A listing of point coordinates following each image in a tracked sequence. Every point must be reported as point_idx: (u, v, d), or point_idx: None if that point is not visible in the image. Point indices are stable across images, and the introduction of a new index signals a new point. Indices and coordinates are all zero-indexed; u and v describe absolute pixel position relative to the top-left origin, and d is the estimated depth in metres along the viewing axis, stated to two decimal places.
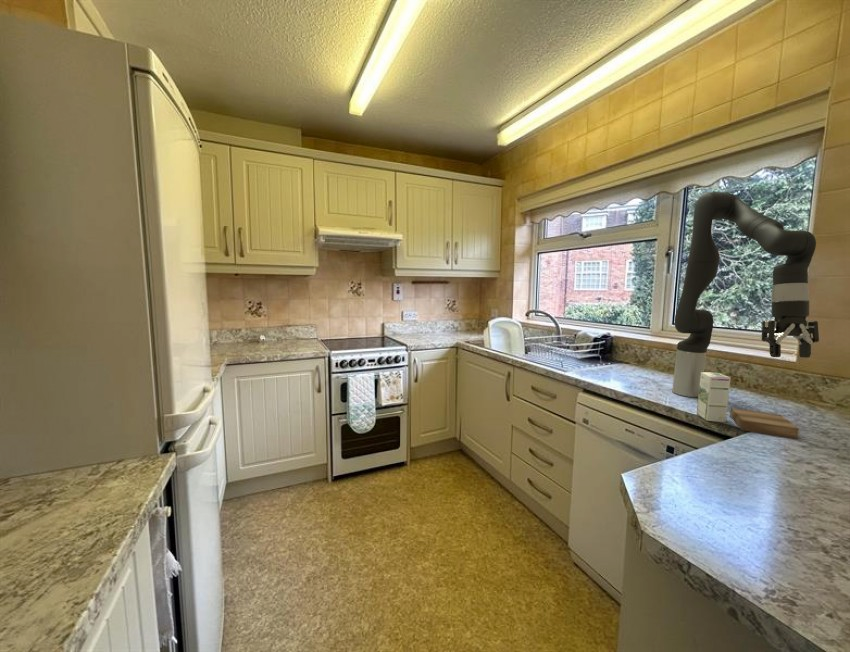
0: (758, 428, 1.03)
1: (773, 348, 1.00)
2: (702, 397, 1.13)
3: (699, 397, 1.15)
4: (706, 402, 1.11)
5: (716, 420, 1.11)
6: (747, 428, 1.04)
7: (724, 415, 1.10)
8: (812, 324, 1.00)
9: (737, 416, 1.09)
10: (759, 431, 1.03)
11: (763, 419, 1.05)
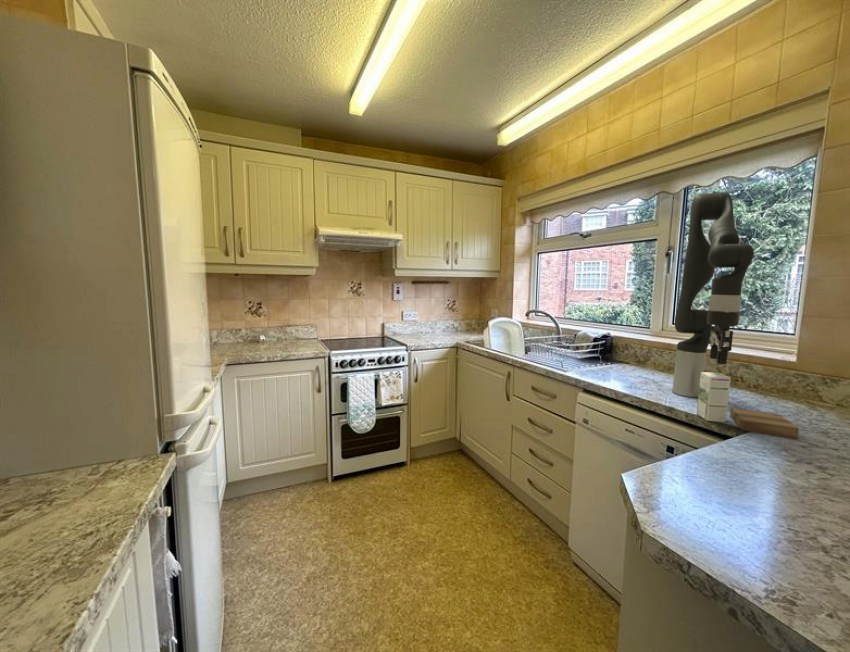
0: (758, 428, 1.03)
1: (725, 356, 1.06)
2: (702, 397, 1.13)
3: (699, 397, 1.15)
4: (706, 402, 1.11)
5: (716, 420, 1.11)
6: (747, 428, 1.04)
7: (724, 415, 1.10)
8: None
9: (737, 416, 1.09)
10: (759, 431, 1.03)
11: (763, 419, 1.05)
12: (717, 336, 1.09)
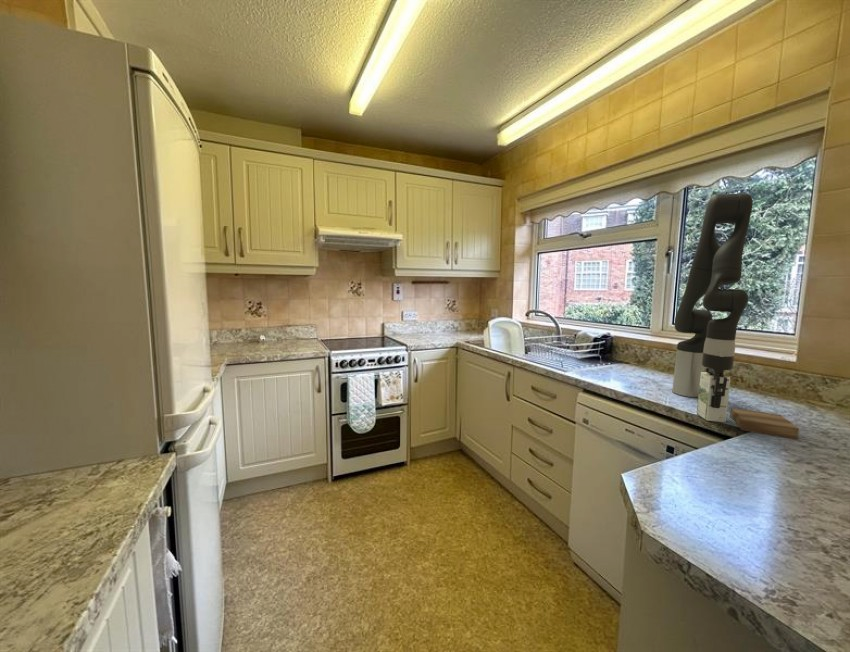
0: (758, 428, 1.03)
1: (718, 401, 1.08)
2: (702, 397, 1.13)
3: (699, 397, 1.15)
4: (706, 402, 1.11)
5: (716, 420, 1.11)
6: (747, 428, 1.04)
7: (724, 414, 1.10)
8: None
9: (737, 416, 1.09)
10: (759, 431, 1.03)
11: (763, 419, 1.05)
12: None
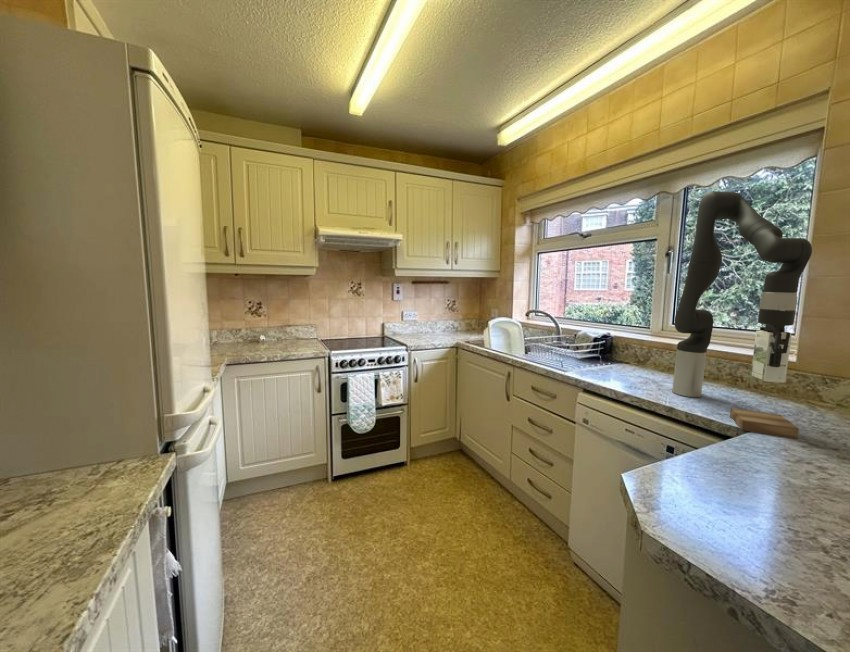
0: (758, 428, 1.03)
1: (779, 359, 1.00)
2: (758, 357, 1.05)
3: (754, 357, 1.07)
4: (764, 361, 1.03)
5: (775, 380, 1.03)
6: (747, 428, 1.04)
7: (784, 374, 1.02)
8: None
9: (737, 416, 1.09)
10: (759, 431, 1.03)
11: (763, 419, 1.05)
12: None
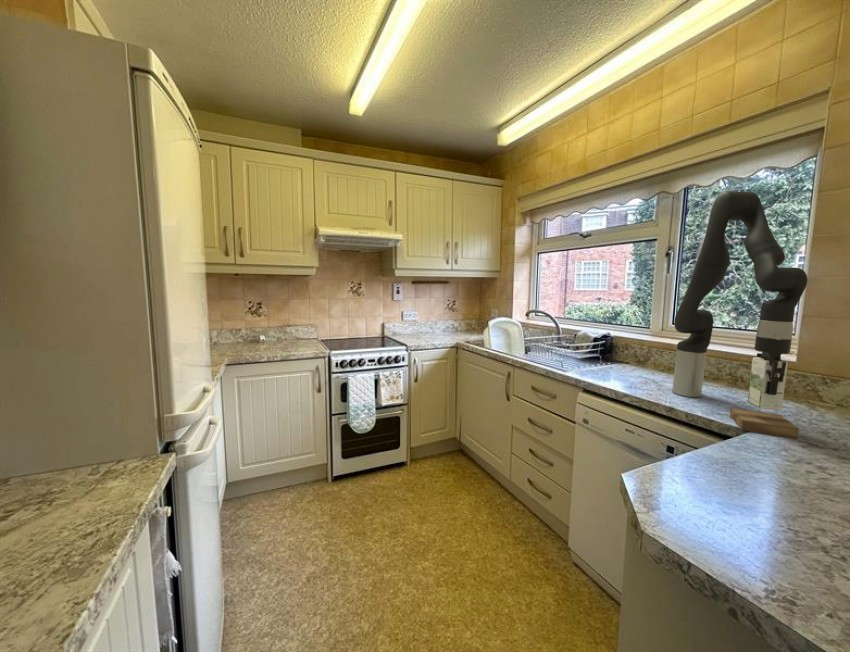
0: (758, 428, 1.03)
1: (775, 387, 1.01)
2: (755, 383, 1.06)
3: (751, 384, 1.08)
4: (760, 389, 1.04)
5: (771, 408, 1.04)
6: (747, 428, 1.04)
7: (780, 402, 1.03)
8: None
9: (737, 416, 1.09)
10: (759, 431, 1.03)
11: (763, 419, 1.05)
12: None
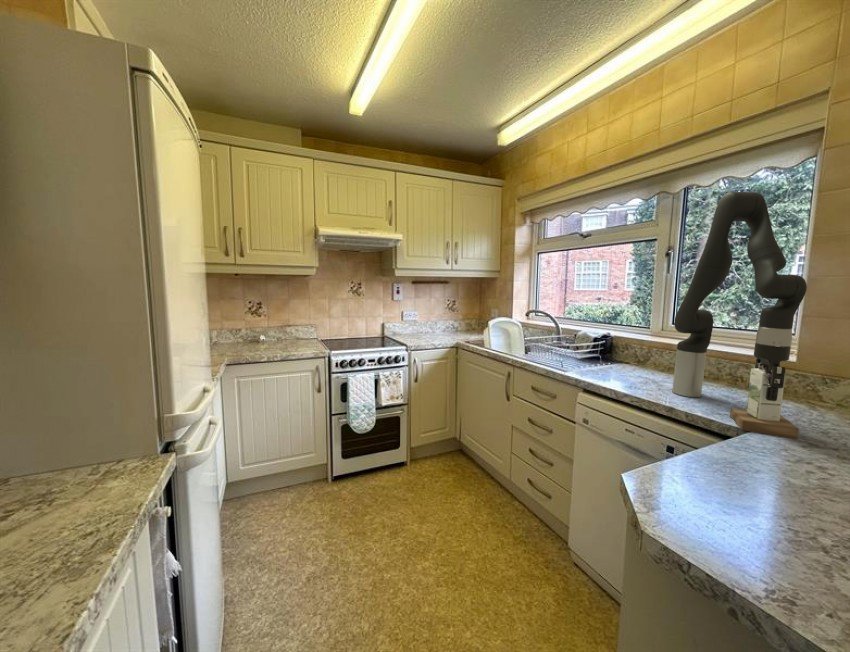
0: (758, 428, 1.03)
1: (775, 393, 1.01)
2: (753, 394, 1.07)
3: (749, 395, 1.09)
4: (758, 400, 1.05)
5: (769, 419, 1.04)
6: (747, 428, 1.04)
7: (778, 413, 1.03)
8: None
9: (737, 416, 1.09)
10: (759, 431, 1.03)
11: None
12: (766, 371, 1.03)
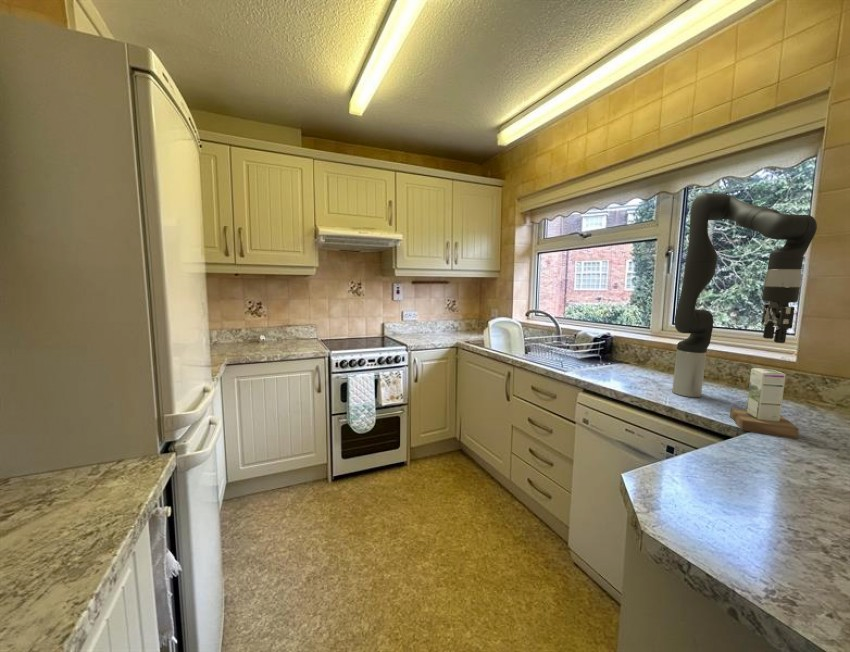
0: (758, 428, 1.03)
1: (784, 334, 1.00)
2: (753, 394, 1.07)
3: (749, 395, 1.09)
4: (758, 400, 1.05)
5: (769, 419, 1.04)
6: (747, 428, 1.04)
7: (778, 413, 1.03)
8: None
9: (737, 416, 1.09)
10: (759, 431, 1.03)
11: None
12: (774, 313, 1.02)
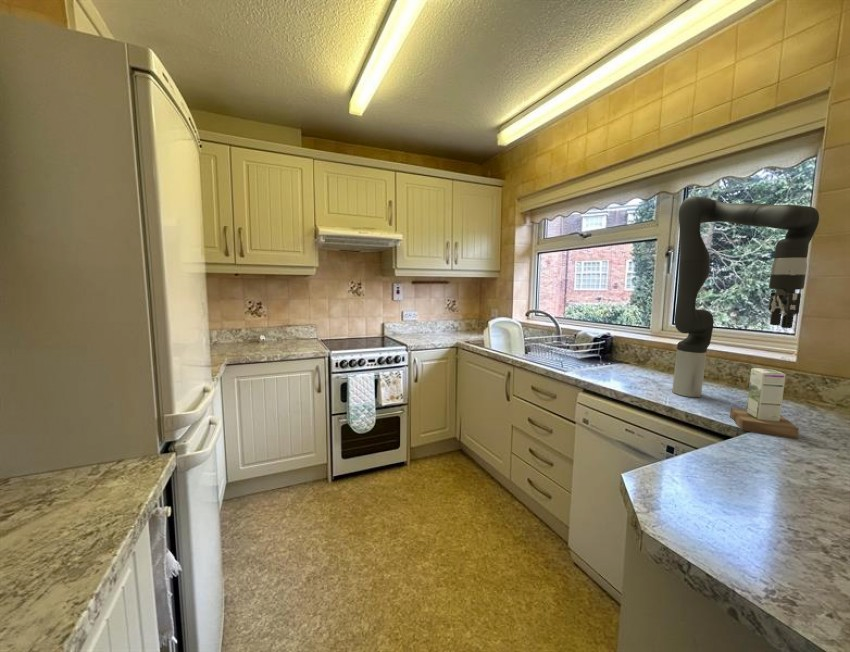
0: (758, 428, 1.03)
1: (791, 320, 1.04)
2: (753, 394, 1.07)
3: (749, 395, 1.09)
4: (758, 400, 1.05)
5: (769, 419, 1.04)
6: (747, 428, 1.04)
7: (778, 413, 1.03)
8: None
9: (737, 416, 1.09)
10: (759, 431, 1.03)
11: None
12: (781, 300, 1.07)
